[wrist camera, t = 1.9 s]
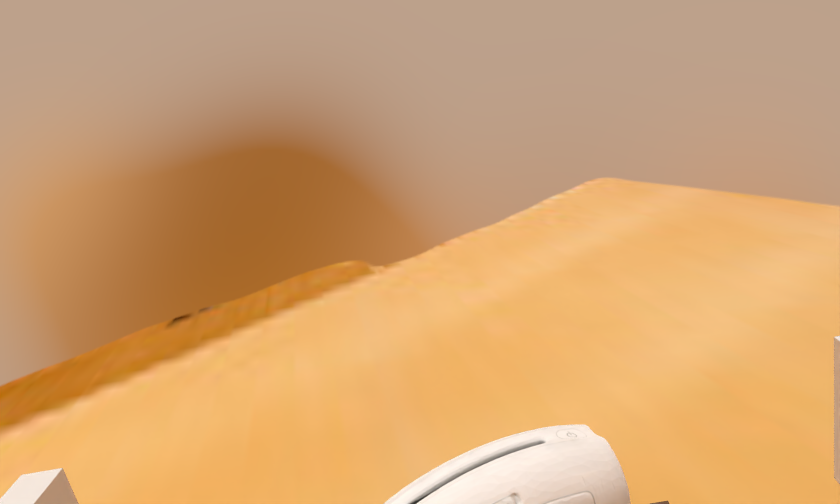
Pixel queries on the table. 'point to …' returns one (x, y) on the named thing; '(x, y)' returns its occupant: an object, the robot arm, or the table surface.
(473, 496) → the photo printer
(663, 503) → the walnut frame
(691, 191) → the table surface
